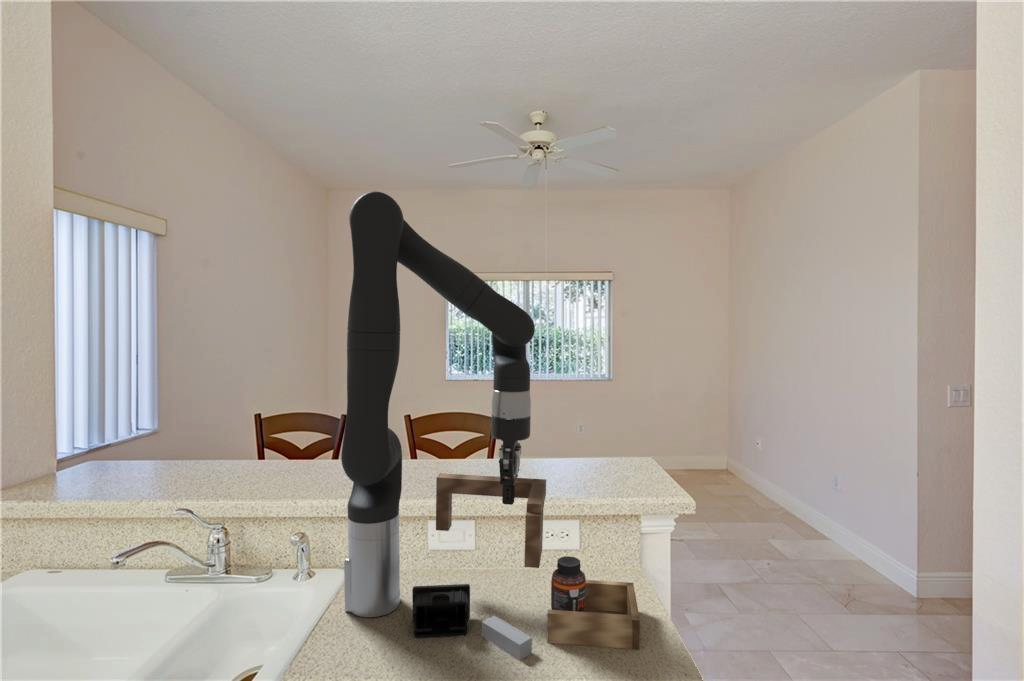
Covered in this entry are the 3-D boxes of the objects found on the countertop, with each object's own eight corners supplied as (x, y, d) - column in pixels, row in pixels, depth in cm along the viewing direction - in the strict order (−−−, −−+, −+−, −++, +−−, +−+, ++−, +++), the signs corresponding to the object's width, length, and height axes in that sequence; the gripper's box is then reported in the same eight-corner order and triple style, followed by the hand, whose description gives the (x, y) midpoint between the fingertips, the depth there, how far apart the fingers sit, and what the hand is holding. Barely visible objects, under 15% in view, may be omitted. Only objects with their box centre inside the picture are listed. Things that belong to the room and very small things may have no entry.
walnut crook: (417, 558, 99) (418, 499, 98) (439, 524, 114) (440, 473, 113) (539, 568, 96) (540, 507, 95) (544, 531, 111) (546, 479, 111)
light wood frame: (547, 642, 94) (547, 613, 94) (551, 603, 107) (551, 577, 106) (639, 649, 92) (639, 619, 92) (632, 609, 105) (633, 582, 104)
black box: (469, 613, 103) (469, 577, 103) (470, 636, 96) (470, 597, 96) (413, 616, 102) (413, 579, 102) (410, 639, 95) (410, 600, 95)
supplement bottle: (583, 635, 97) (584, 570, 96) (549, 630, 98) (549, 566, 97) (586, 616, 102) (587, 555, 102) (553, 612, 104) (553, 552, 103)
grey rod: (482, 637, 96) (481, 621, 96) (494, 631, 98) (494, 615, 98) (519, 661, 90) (519, 644, 89) (531, 654, 92) (531, 637, 91)
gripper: (497, 405, 117) (495, 488, 118) (485, 419, 103) (484, 512, 104) (533, 407, 116) (531, 490, 117) (527, 421, 102) (525, 515, 103)
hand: (509, 500), depth 110 cm, fingers closed on walnut crook, 2 cm apart
